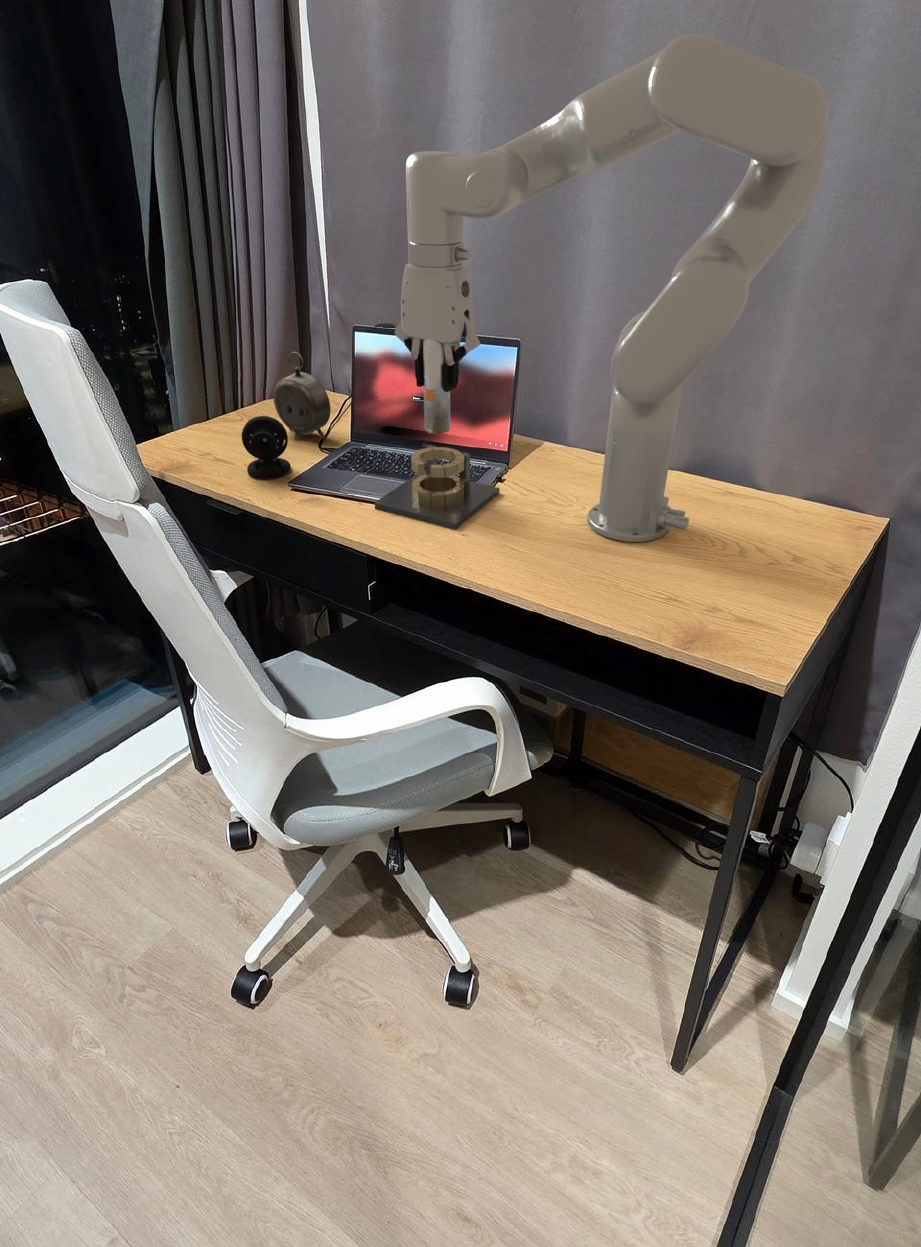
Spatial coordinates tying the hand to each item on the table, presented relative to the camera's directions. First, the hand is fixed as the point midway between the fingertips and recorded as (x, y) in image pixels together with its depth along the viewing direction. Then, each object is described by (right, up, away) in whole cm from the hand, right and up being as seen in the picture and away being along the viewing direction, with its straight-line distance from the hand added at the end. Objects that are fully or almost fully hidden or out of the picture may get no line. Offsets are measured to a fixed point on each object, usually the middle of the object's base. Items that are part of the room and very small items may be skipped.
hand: (436, 385), depth 120 cm
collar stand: (0, -16, +11) cm, 19 cm away
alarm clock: (-27, 0, +34) cm, 43 cm away
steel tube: (0, -6, +4) cm, 7 cm away
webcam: (-30, -9, +20) cm, 38 cm away
